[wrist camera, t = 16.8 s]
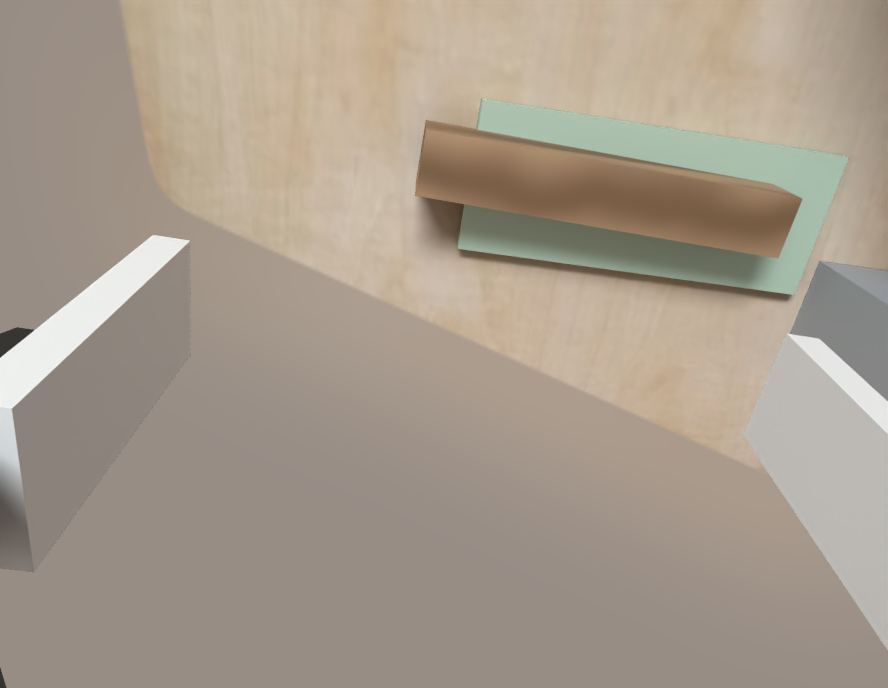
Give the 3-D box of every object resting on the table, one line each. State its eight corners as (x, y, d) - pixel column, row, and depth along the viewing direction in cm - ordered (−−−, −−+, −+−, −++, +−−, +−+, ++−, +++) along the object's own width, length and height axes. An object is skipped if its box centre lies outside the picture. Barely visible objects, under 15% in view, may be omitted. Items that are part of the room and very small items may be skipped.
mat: (481, 98, 45) (482, 100, 44) (841, 154, 47) (849, 157, 46) (457, 244, 49) (457, 248, 49) (788, 290, 52) (794, 295, 51)
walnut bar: (426, 120, 45) (426, 129, 41) (773, 184, 47) (802, 199, 43) (416, 181, 46) (415, 195, 43) (752, 240, 49) (778, 258, 45)
